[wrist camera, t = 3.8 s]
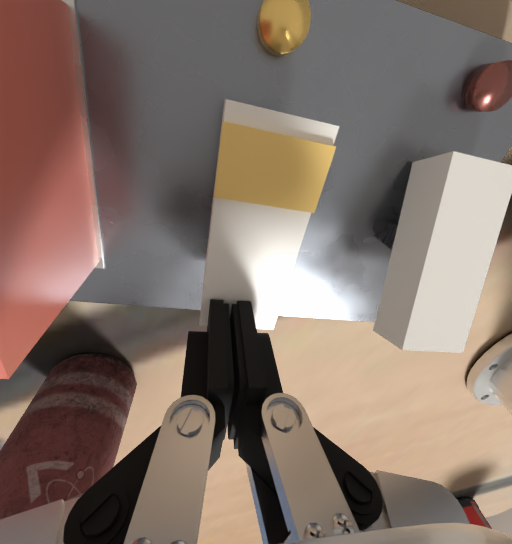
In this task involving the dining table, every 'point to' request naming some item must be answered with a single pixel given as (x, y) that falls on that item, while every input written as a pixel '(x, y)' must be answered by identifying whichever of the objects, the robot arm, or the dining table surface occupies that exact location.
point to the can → (66, 433)
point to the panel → (279, 97)
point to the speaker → (473, 512)
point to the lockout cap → (39, 176)
